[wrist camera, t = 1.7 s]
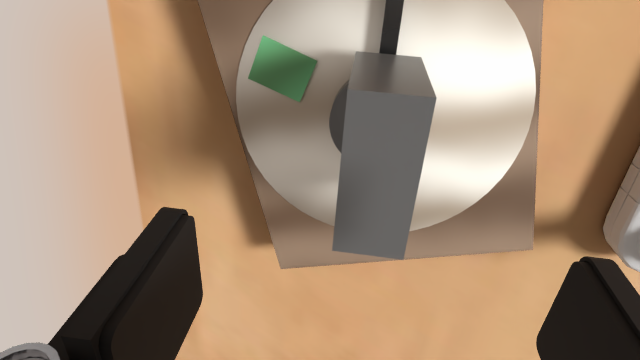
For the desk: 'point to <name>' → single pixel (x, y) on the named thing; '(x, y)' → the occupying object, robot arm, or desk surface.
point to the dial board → (446, 128)
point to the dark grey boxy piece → (380, 145)
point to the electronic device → (626, 218)
